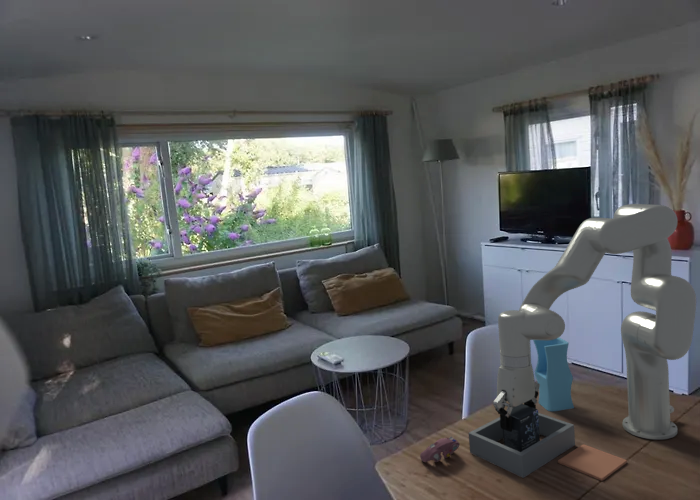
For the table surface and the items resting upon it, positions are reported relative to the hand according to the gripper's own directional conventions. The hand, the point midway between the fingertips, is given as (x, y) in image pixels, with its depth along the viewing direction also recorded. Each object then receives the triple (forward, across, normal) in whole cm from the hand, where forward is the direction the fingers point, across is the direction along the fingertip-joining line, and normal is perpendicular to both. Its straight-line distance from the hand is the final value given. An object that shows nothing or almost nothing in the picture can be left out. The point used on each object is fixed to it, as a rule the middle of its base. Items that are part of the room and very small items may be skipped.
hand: (518, 423), depth 132 cm
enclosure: (+7, -1, 0) cm, 7 cm away
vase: (+7, -29, -9) cm, 31 cm away
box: (+7, -1, 0) cm, 7 cm away
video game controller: (+8, +17, -11) cm, 22 cm away
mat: (+7, -7, +16) cm, 18 cm away
